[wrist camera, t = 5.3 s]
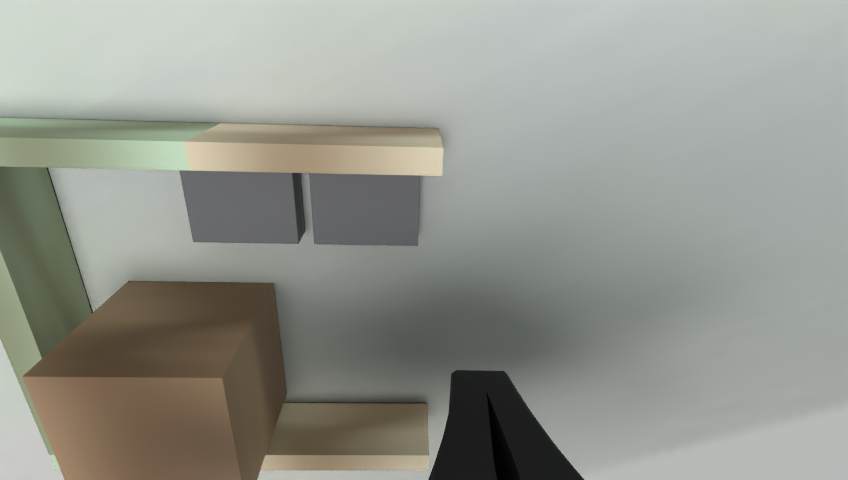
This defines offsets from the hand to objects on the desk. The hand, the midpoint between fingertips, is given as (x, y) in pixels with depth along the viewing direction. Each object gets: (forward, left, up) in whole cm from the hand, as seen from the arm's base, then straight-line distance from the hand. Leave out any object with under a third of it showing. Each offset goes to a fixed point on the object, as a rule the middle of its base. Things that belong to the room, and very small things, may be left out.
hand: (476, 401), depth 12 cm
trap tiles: (+4, -5, -2) cm, 7 cm away
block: (+8, 0, -3) cm, 8 cm away
